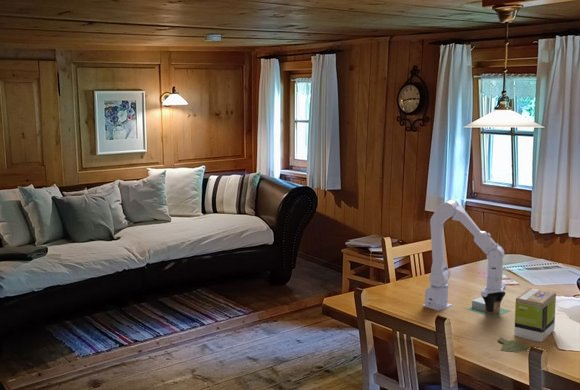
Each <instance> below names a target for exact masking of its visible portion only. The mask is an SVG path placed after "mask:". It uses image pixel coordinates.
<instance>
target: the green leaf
mask: <svg viewBox="0 0 580 390" xmlns="http://www.w3.org/2000/svg"><path fill="white" fill-rule="evenodd" d="M497 341H499V342H500V343H502V346H501V348H500V351H502V352H503V351H505V352H513V353H516V354H517V353H521V352H524V351H525V352H528V351H527V350H529V348H530V347H531V346H530V345H526V344H524V343H521V342H518V341H516V340H513V339H510V340H507V339H505V338H503V337H498V339H497Z"/></svg>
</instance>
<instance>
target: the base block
mask: <svg viewBox="0 0 580 390" xmlns="http://www.w3.org/2000/svg"><path fill="white" fill-rule="evenodd" d="M471 307H472V308H475V309H479V310H482V311H485V307H486V305H485V301H484V299H483V297H482V296H481V297H478V298H475V299H473V300H471Z"/></svg>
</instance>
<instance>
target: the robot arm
mask: <svg viewBox="0 0 580 390" xmlns="http://www.w3.org/2000/svg"><path fill="white" fill-rule="evenodd" d="M450 218H451V220H452V221H458V222H460V223H461V224H462V225H463V226H464V227H465V228H466V229H467V230H468V232H470V234H471V235H472V236H473V242H474V243H475V244H476V245H477V246H478V247H479V248H480V250H481V251H482V252H483V253H484V254H485V255H486V260H487V261H488V262H487V269H486V271H487V272H486V284H485V285H486V286H485V287H484V288H483V289H482V290H481V291H480V296H481V298H483V299H484V301H485V305H486V310H487V311H488V312H492V311H493V306H494V302H495V300H496V301H500V305H501V303H502V300H503V299H504V297H505V295H506V292H505V291H506V290H507V285H506V284H503V270H504V267H503V264H504V259H503V258H504V257H505V250H504V248H503V247H502V246H501V245H499V243H497V242H495V241H494V239H493V238H492V237H491V236H492V234H491V233H490V232H487V231H485V230H484V231H483V230H481V229H480V228H479V226H478V225H477V224H476V223H475V221H474V220H473V219H472V218H471V216H470V215H469V213H467V211H466V210H465V209H464V207H463V206H462V205H460V203H459V202H458V201H457V200H456V199H450V198H449V199H447V200H446V201H444V202H442V203H441V204H440V205H438V206H437V207H436V208H435V211H434V213H433V214H432V215H431V217H430V220H429V224H430V225H429V226H430V238H431V242H430V243H431V257H432V264H431V268H430V273H429V274H430V275H429V278H428V279H429V282H430V284H429V287H427V288H426V289H425V291H424V304H422V307H425V308H429V309H432V310H435V311H441V310H445V309H447V308H450V307H452V306H453V305H452V304H451V303H448V302H449V282H448V280H449V279H450V277H451V273H450V272H451V271H450V269H449V268H448V263H447V261H446V249H445V235H444V232H445V231H444V223H445V222H446V221H447V220H448V219H450Z"/></svg>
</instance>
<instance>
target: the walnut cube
mask: <svg viewBox="0 0 580 390" xmlns="http://www.w3.org/2000/svg"><path fill="white" fill-rule="evenodd" d="M500 308H501V304H500V301H496V300H495V302H494V306H493V311H492V312H488V311H487V310H486V307H485V314H489V315H492V316H496V315H498V314H500Z"/></svg>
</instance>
